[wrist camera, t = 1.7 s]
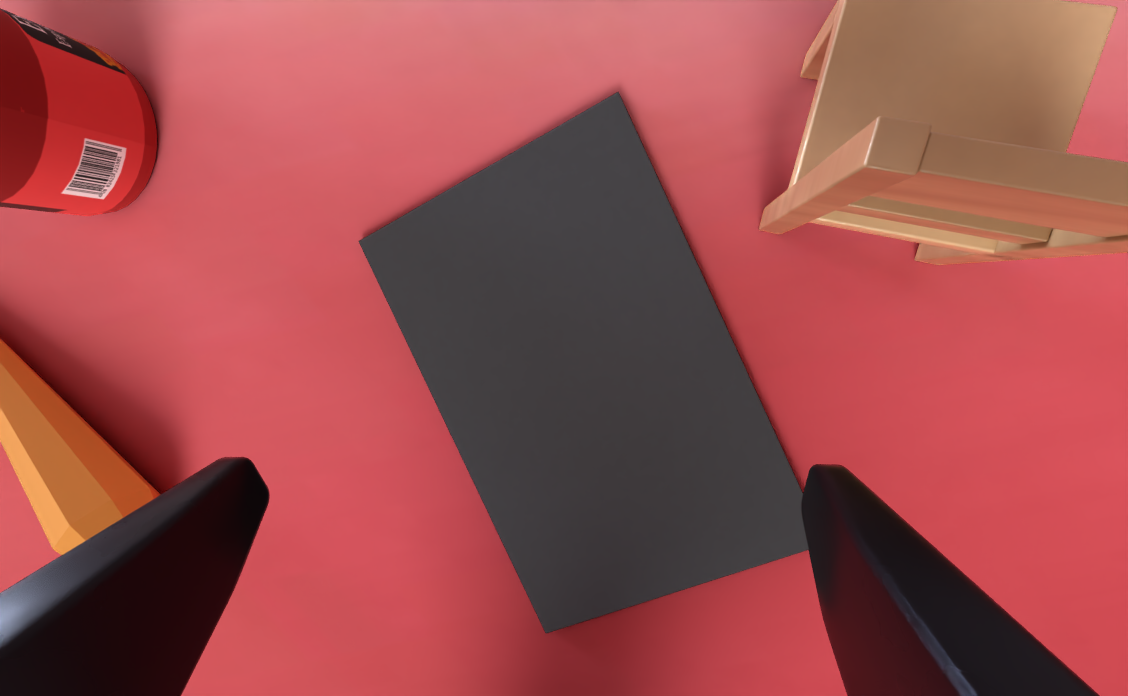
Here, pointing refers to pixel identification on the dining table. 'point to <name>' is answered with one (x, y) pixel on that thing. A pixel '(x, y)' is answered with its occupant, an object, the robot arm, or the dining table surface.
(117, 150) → the canned food
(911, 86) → the toy chair
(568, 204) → the mat
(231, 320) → the dining table surface
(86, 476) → the carrot
